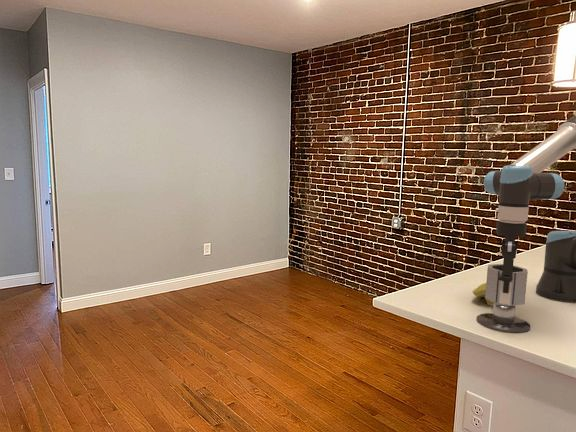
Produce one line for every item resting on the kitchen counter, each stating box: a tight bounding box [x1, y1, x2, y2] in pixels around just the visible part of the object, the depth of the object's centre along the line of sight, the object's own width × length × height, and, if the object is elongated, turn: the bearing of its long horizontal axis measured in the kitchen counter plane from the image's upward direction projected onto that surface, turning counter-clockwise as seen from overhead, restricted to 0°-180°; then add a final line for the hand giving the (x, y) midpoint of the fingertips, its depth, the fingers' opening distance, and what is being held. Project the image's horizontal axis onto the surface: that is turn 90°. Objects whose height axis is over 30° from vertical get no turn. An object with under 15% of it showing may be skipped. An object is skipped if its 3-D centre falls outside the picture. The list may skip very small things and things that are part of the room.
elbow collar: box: [484, 263, 528, 306], centre depth 124 cm, size 10×10×9 cm
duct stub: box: [475, 302, 532, 334], centre depth 125 cm, size 14×14×6 cm
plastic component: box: [472, 282, 494, 306], centre depth 146 cm, size 20×7×10 cm
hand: (504, 298), depth 125 cm, fingers closed on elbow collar, 10 cm apart
